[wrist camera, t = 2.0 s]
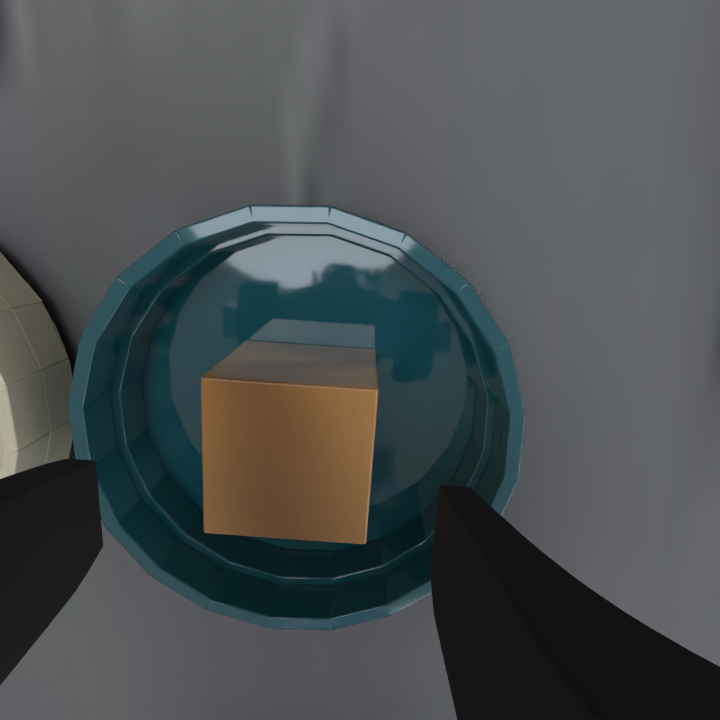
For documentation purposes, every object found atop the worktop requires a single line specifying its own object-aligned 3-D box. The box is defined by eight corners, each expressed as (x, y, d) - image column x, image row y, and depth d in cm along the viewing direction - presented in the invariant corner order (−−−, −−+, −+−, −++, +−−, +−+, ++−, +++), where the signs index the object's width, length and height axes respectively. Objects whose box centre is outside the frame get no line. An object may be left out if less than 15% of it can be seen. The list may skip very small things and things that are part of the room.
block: (376, 348, 16) (378, 389, 12) (367, 468, 17) (365, 545, 13) (245, 339, 16) (199, 376, 12) (244, 460, 17) (202, 533, 13)
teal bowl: (553, 288, 16) (602, 302, 12) (417, 597, 19) (426, 676, 16) (175, 154, 15) (119, 130, 12) (98, 500, 18) (36, 560, 15)
